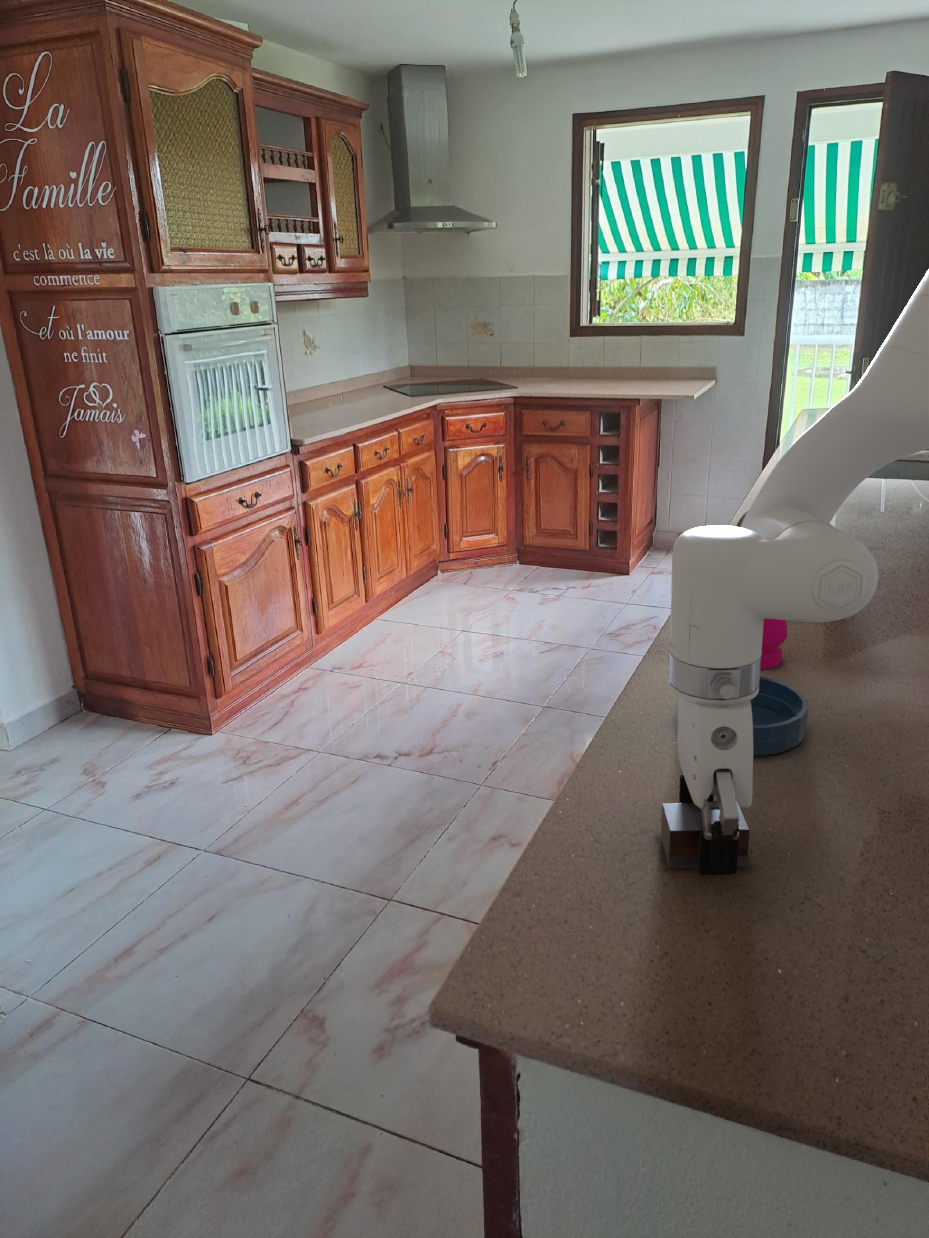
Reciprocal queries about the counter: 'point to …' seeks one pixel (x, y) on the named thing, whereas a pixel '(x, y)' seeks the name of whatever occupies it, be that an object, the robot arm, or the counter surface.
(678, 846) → the shiny metal block
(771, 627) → the pepper mill
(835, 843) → the counter surface
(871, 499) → the counter surface
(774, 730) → the bowl
